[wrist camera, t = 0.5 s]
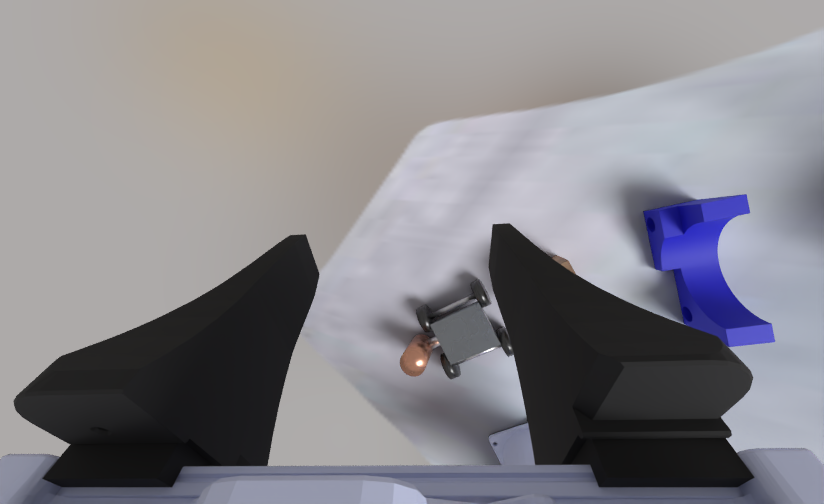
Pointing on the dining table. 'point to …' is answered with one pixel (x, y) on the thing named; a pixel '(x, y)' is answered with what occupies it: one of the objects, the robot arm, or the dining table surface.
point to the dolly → (464, 330)
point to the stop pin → (418, 354)
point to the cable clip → (703, 267)
